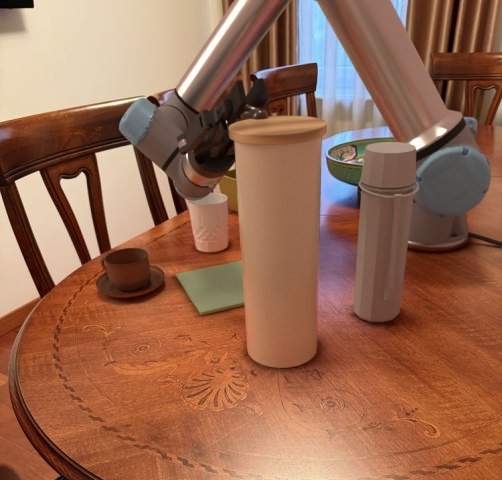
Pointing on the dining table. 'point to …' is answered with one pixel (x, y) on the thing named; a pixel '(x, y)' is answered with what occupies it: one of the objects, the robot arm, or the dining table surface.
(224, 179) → the flower pot
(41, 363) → the dining table surface
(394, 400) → the dining table surface
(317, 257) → the canister
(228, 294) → the mat
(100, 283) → the cup and saucer
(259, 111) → the lid
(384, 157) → the water bottle
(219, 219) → the white cup
